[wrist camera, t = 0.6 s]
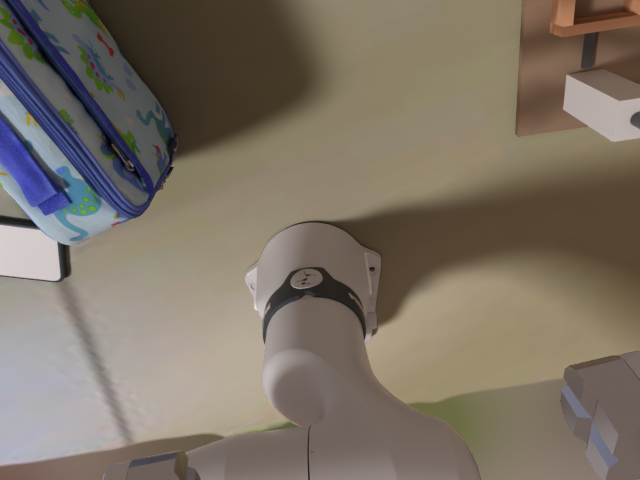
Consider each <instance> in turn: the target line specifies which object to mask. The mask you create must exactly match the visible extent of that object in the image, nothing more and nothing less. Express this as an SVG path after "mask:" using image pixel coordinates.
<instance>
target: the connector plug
mask: <svg viewBox="0 0 640 480" xmlns="http://www.w3.org/2000/svg"><path fill="white" fill-rule="evenodd" d="M563 110H564V111H566V112H568V113H569V114H571V115H572V116H574V117H575V118H577V119H578V120H580V121H581V122H583V123H585V124H586V125H588V126H589V127H591V128H592V129H594V130H595V131H597V132H599V133H600V134H602V135H603V136H605V137H606V138H608V139H609V140H611V141H612V142H616V141H623V140H630V139H637V138H640V84H637V83H635V82H633V81H630V80H628V79H626V78H623V77H621V76H618V75H616V74H614V73H611V72H609V71H607V70H604V69H599V70H593V71H586V72H580V73H573V74H567V75H566V85H565V95H564V105H563Z"/></svg>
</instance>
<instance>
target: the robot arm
mask: <svg viewBox="0 0 640 480" xmlns="http://www.w3.org/2000/svg"><path fill="white" fill-rule="evenodd" d="M370 267H374V268H373V269H369V268H370ZM380 269H381V256H380V255H379V254H378V253H377V252H375V251H373V250H371V249H368V248H365V247H363V246H361V245H360V244H359V243H358V242H357V241H356V240H355V239H354V238H353V237H352V236H350V235H349V234H348V233H346V232H345V231H343V230H341V229H340V228H337V227H335V226H332V225H328V224H324V223H303V224H298V225H295V226H292V227H289V228H287V229H285V230H283V231H282V232H280V233H279V234H277V235H276V236H275V237H274V238H273V239H272V240H271V241H270V242H269V243H268V245H267V246H266V248H265V249H264V251H263V254H262V256H261V257H260V259H259V261H258V262H256V263H255V264H254V265H253V266H251V267H250V268H249V269H248V270H247V271H246V273H245V281H246V283H247V285H248V287H249V289H250V291H251V293H252V295H253V296H254V308H255V310H257V311H258V313H259V315H260V317H261V318H262V320H263V321H262V330H263V340H264V343H265V351H264V362H263V373H262V383H263V388H264V391H265V394H266V396H267V398H268V400H269V402H270V403H271V404H272V406H273V407H274V408H275V409H276V410H277V411H278V412H279V413H280V414H281V415H283V416H284V417H285V418H286V419H287V420H289V421H290V422H292V423H294V424H296V425H298V426H301V427H295V428H287V429H279V430H271V431H263V432H255V433H247V434H239V435H234V436H231V437H228V438H225V439H222V440H219V441H216V442H213V443H210V444H208V445H205V446H202V447H199V448H197V449H194V450H191V451H188V452H187V453H184V451H183V450H179V451H175V452H170V453H165V454H160V455H155V456H150V457H145V458H140V459H134V460H129V461H125V462H120V463H116V464H111V465H109V467H108V468H107V470H106V472H105V474H104V476H103V480H481V477H480V473H479V469H478V466H477V463H476V461H475V459H474V456H473V454H472V452H471V451H470V449H469V447H468V446H467V444H466V443H465V441H464V440H463V439H462V437H461V436H460V435H459V434H458V433H457V432H456V431H455V430H454V429H453V428H452V427H451V426H450V425H448V424H447V423H446V422H444V421H443V420H441V419H439V418H436V417H434V416H431V415H427V414H425V413H423V412H421V411H418V410H416V409H414V408H412V407H411V406H409V405H407V404H405V403H404V402H402V401H401V400H399V399H398V398H396V397H395V396H394V395H393V394H391V393H390V392H389V391H388V390H387V389H386V388H385V387H384V386H383V385H382V384H381V383H380V382H379V381H378V380H377V378H376V377H375V375H374V374H373V371H372V369H371V366H370V363H369V359H368V355H367V351H366V347H365V343H366V342H367V341H369V340H370V339H371V337H372V331H373V329H375V328H377V315H376V312H375V308H376V300H377V292H378V285H379V277H380ZM564 379H565V380H566V382H567V385H566V386H565V387H564V388H563V389H562V390H561V400H560V401H561V406H562V410H563V414H564V417H565V419H566V421H567V423H568V425H569V427H570V429H571V431H572V432H573V434H574V435H575V436H577V437H579V438H580V439H582V440H583V441H585V442H587V447H586V456H587V458H588V460H589V461H590V463H591V465H592V466H593V468H594V470H595V471H596V473H597V475H598V476H599V478H600V480H636V479H640V351H633V352H629V353H624V354H620V355H616V356H614V355H613V356H608V357H604V358H600V359H596V360H591V361H587V362H583V363H579V364H574V365H570V366H568V367H567V368H566V369H565V371H564Z"/></svg>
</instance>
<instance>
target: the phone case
mask: <svg viewBox="0 0 640 480" xmlns="http://www.w3.org/2000/svg"><path fill="white" fill-rule="evenodd" d="M66 275H67V269H66V257H65V245H64V244H62V243H60V242H58V241H55V240H54V239H52V238H50V237H48V236H47V235H46V234H44V233H43V232H42V231H41V230H40V229H39V228H38V227H37V226H36V224H35V223H34V222H28V221H21V220H13V219H6V218H0V276H3V277H12V278H21V279H30V280H39V281H48V282H61V281H62V280H63V279H64V278H65V277H66Z"/></svg>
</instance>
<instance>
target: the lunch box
mask: <svg viewBox="0 0 640 480" xmlns="http://www.w3.org/2000/svg"><path fill="white" fill-rule="evenodd" d="M178 144H179V141H178V137H177V134H175V135H173V131H172V126H171V123H170V121H169V119H168V117H167V115H166V113H165V112H164V110H163V108H162V107H161V105H160V103H159V102H158V100H157V99H156V98H155V96H154V95H153V93H152V92H151V91H150V90H149V88H148V87H147V86H146V85H145V83H144V82H143V81H142V80H141V79H140V77H139V76H138V75H137V73H136V72H135V71H134V70H133V68H132V67H131V66H130V64H129V63H128V61H127V60H126V59H125V57H124V56H123V54H122V53H121V52H120V50H119V49H118V46H117V45H116V43H115V41H114V39H113V38H112V36H111V35H110V33H109V31H108V30H107V28H106V27H105V26H104V25H103V23H102V22H101V21H100V19H99V18H98V16H97V15H96V13H95V12H94V10H93V9H92V7H91V6H90V5H89V3H88V2H87V0H0V185H1V186H2V187H3V188H4V189H5V190H6V191H7V192H8V193H9V194H10V195H11V197H12V198H13V199H14V200H15V201H16V202H17V203H18V204H19V205H20V207H21V208H22V209H23V210H24V211H25V213H26V214H27V215H28V216H29V217H30V219H31V220H32V221H33V222H34V223H35V224H36V226H37V227H38V228H39V229H40V230H41V231H42V232H43V233H44V234H46V235H47V236H48V237H50V238H52V239H54V240H55V241H58V242H60V243H62V244H65V245H77V244H80V243H82V242H84V241H86V240H88V239H90V238H92V237H93V236H96V235H98V234H100V233H102V232H104V231H106V230H108V229H110V228H113V227H115V226H117V225H119V224H122V223H124V222H126V221H128V220H130V219H132V218H136V217H139V216H140V215H141V214H143V213H144V212H145V210H146V209H147V208H148V207H149V205H150V203H151V201H152V199H153V197H154V195H155V193H156V192H157V191H158V190H160V189H161V190H162V189H163V184H164V183H165V182H166V181H165V180H166V179H167V178H168V177H169V175H170V174H171V172H172V170H173V168H174V167H171V165H172V162H173V159H174V156H175V153H176V151H177V148H178Z"/></svg>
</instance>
